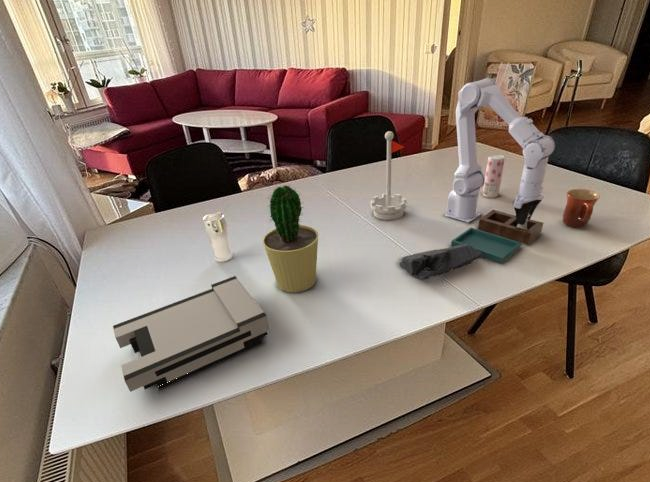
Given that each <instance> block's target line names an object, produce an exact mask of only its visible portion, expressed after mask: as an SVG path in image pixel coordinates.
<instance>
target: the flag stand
mask: <svg viewBox="0 0 650 482" xmlns="http://www.w3.org/2000/svg"><path fill="white" fill-rule="evenodd" d="M394 136H395V135H394V132H393V131H391V130H390V131H389V130H388V131H386V132H385V134H384V138H385V140H386V192H384V193H382V195H381V196H379V195H377V194H376V195H374V196H373V197H372V199H371V200H370V208H371V209H372V211H373V216H374V217H375V218H377V219H379V220H385V221H389V220H390V221H391V220H397V219H399V218H401V217H402V216H403V215H404V210H405V209H406V208H407V204H408V203H407V202H408V201H407V200H408V199H407V197H405V196H404V197H403V196H402V194H400V193H394V195H392V154H393V153H395V152H397V151H399V150H401V149H404V148H405V146H403V145H401V144H399V143H398V142H396V141H394V140H393V139H394Z"/></svg>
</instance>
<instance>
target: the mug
mask: <svg viewBox="0 0 650 482" xmlns="http://www.w3.org/2000/svg"><path fill="white" fill-rule="evenodd" d="M600 197H601V195H600V193H599V192H596V191H595V190H590V189H585V188H574V189H569V190H567V192H566V204H565V208H564V211H563V214H562V223H563V224H564V225H565V226H568V227H570V228H576V229H581V228H584V227H586V226H588V224H589V222H590V220H591V218H592V217H591V216H592V215H593V211H594V207H595V205H596V203H597V201H598V200H599V199H600Z"/></svg>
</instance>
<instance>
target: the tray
mask: <svg viewBox="0 0 650 482" xmlns="http://www.w3.org/2000/svg"><path fill="white" fill-rule="evenodd" d="M457 245H470V246H472V247H474V249H477V250H478V251H480V252H481V253H482V254H483V256H482V257H481V258H484V259H486V260H489V261H492V262H495V263H498V264H501V265H502V264H503V263H505V262H506V261H508V259H510V258H511V257H512V256H514V255H515V254H516V253H517V252H518V251H519V250H520V249H521V247H522V243H521V242H517V241H514V240H511V239H507V238H504V237H501V236H497V235H494V234H491V233H488V232H484V231H481V230H478V228H475V227H469V228H468V229H466V230H465V231H463V232H462V233H460V234H459V235H457V236H456V237H455V238H453V239H452V240H451V243H450V247H453V246H457Z"/></svg>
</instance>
